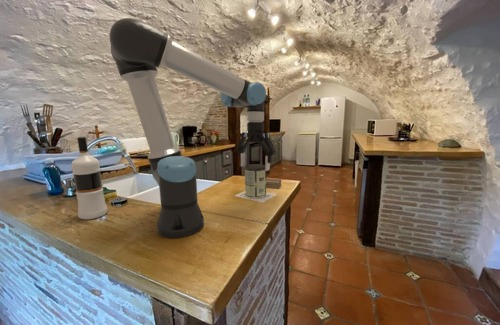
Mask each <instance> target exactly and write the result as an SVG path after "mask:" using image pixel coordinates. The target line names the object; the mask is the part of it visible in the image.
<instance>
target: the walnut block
mask: <svg viewBox="0 0 500 325" xmlns="http://www.w3.org/2000/svg"><path fill="white" fill-rule="evenodd" d="M281 186H282V178H274V177H266V189H273V190H279V189H280V187H281Z"/></svg>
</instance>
